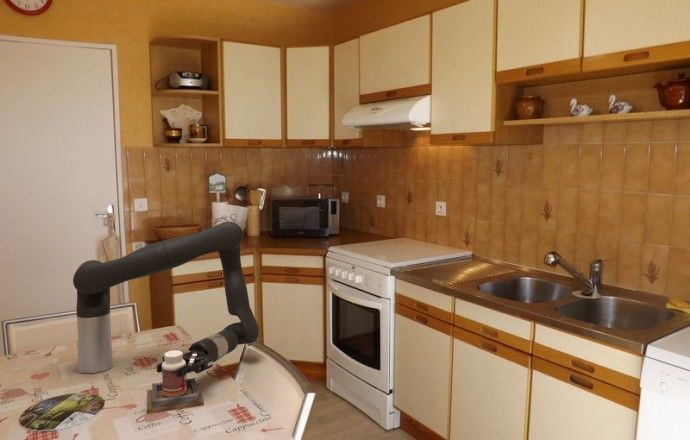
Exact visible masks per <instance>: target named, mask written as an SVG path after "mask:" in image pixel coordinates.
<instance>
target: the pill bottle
mask: <svg viewBox="0 0 690 440" xmlns="http://www.w3.org/2000/svg"><path fill="white" fill-rule="evenodd" d="M182 352H183V351H181V350H178V349H174V350H169V351H166V352H165V353H164V359H165V361H164V362H163V361H162V362H163V363H162V362H161V363H162V372H161V379H162V387H163V394H164V395H165V396H167V397H176V396H180V395H183V394H184V393H185V392H186V390H187V383H186V379H187V374H186V375H184V376H182V377H180V378H179V377H177V376H176V370H177V369H179V368H180V367H182V366H184V365H186V362H185V360H183V359H182V358H183V353H182Z"/></svg>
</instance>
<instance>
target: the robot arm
mask: <svg viewBox="0 0 690 440" xmlns="http://www.w3.org/2000/svg"><path fill="white" fill-rule="evenodd" d="M243 239H244V232H243V229H242V227H241V226H240V225H239V224H238V223H235V222H233V221H223V222H221V223H219V224H216V225H214V226H212V227H210V228H206V229H205V230H202V231H199V232H195V233H190V234H186V235H182V236H177V237H176V236H175V237H172V238H168V239H165V240H161V241H157V242H154V243H150V244H148V245H145V246H143V247H140V248H138V249H136V250H134V251H133V252H130V253H128V254H126V255H124V256H122V257H119V258H116V259H112V260H107V261H104V262H102V261H99V260H96V259H91V260H87V261H84V262H82V263H81V264H80V265H79V266H78V268H77V269H76V270H75V273H74V274H73V278H72V283H73V287H74V288H75V290H76V309H75V311H76V326H77V327H76V328H77V329H76V330H77V342H76V348H77V349H76V350H77V353H76V354H77V366H78V367H77V368H78V369H77V370H78V374H96V373H97V374H98V373H101V372H104V371H108V370H110V369H111V368H112V367H113V344H112V342H113V341H112V326H111V325H112V324H111V322H112V321H111V288H113V287H114V286H115V287H116V286H117V285H119V284H123V283H125V282H129V281H132V280H137V279H140V278H144V277H147V276H151V275H155V274H158V273H163V272H166V271H169V270H172V269H174V268H178V267H180V266H183V265H185V264H187V263H189V262H191V261H193V260H194V259H195V260H196V259H198V258H199V257H201V256H204V255H208V254H212V253H216V252H217V253H218V256H219V258H220V264H221V267H222V273H223V274H222V275H223V284H224V294H225V299H226V306H227V312H228V314H229V315H231V316H235V317H238V319H239V322H233V323H231V324H229V325H227V326H226V327H224V328H223V329H222V330H220V331H219V332H217V333H214V334H211V335H208V336H206V337H204V338H202V339H199V340H197V341H195V342H193V343H192V344H191V345H190V347H189V348H188V350H185V351H182V353H183V358H182V359H183V360H185V362H186V365H184V366H182V367H180V368H179V369H177V370H176V376H177V377H179V378H180V377H182V376H184V375H186V376H187V375H188V374H192V373H195V374H200V373H202V372H204V371H207V370H209V369H211V368H213V366H214V365H213V364H214V363H216V362H217V361H219V360H221V359H222V358H223V357H224V356H226V355H228V354H230V353H231V352H233V351H234V350H235V349H236V348H237V347H238V345H239V346H241V345H246V344H253V343H255V342H257V340H258V338H259V334H260V327H259V324H258V321H257V320H256V317H255V315H254V312H253V310H252V307H251V306H250V305H251V304H250V299H249V294H248V287H247V284H246V283H247V282H246V280H245V275H244V271H243V266H242V259H241V243H242V242H243ZM252 339H253V340H252ZM164 361H165V359H164V356H162V362H159V363H158V364H156V365H155V366H156V368H155V369H156V373H159V374H160V373H162V363H163V362H164Z"/></svg>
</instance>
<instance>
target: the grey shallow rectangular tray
mask: <svg viewBox="0 0 690 440" xmlns="http://www.w3.org/2000/svg"><path fill="white" fill-rule="evenodd" d="M186 383H187V390H186V392H185V393H184V394H183V395H180V396H176V397H167V396H165V395H164V394H163V387H162V382H154V383H151V389H147V390H146V392H147V393H146V415H147V414H154V413H155V414H156V413H161V412H167V411H173V410H180V409H186V408H187V409H188V408H193V407H200V406H204V405H205V404H204V403H205V401H204V397H203V392H202V387H201V383H200V382H198V383H197V381H196V377H194V378H186Z"/></svg>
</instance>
